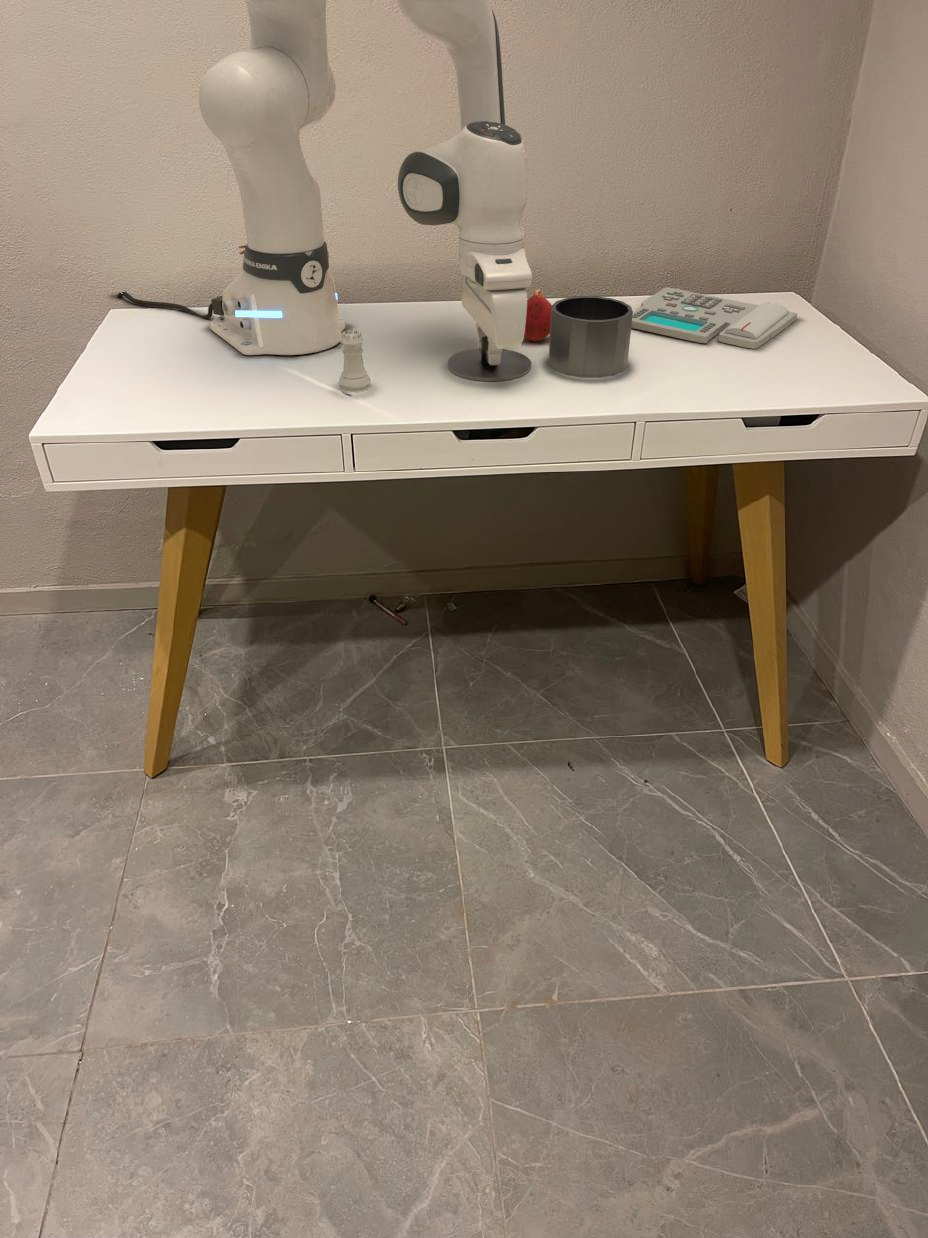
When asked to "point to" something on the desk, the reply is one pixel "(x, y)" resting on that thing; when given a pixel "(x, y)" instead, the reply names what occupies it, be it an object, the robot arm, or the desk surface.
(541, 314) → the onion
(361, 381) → the rook chess piece
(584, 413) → the desk surface
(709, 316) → the office telephone
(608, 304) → the pot
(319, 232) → the robot arm
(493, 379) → the lid
